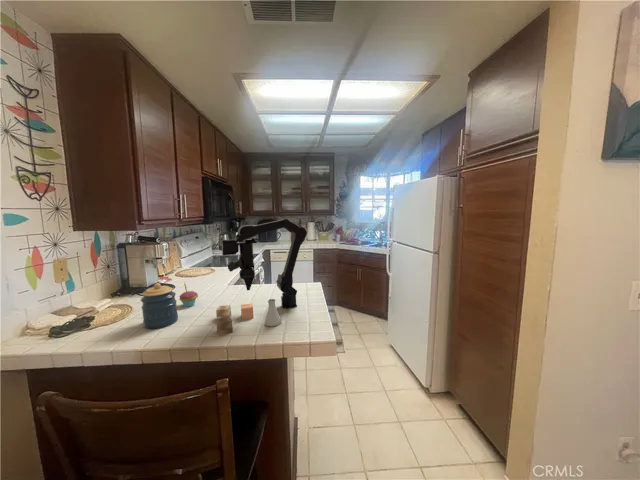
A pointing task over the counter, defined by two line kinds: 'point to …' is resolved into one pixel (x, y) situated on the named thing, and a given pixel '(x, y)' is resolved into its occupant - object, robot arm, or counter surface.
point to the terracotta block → (247, 311)
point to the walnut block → (224, 325)
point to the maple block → (223, 311)
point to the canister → (159, 307)
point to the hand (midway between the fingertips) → (248, 287)
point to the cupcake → (188, 297)
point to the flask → (272, 314)
